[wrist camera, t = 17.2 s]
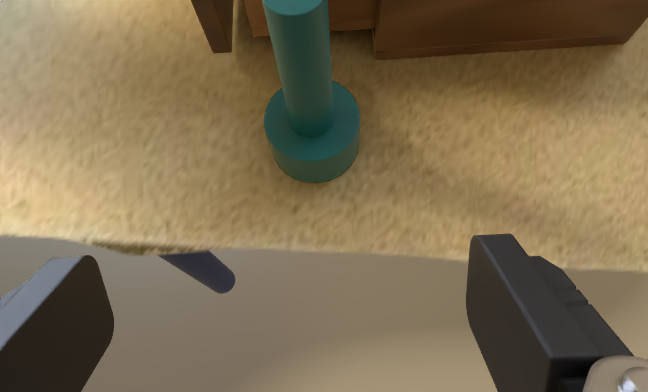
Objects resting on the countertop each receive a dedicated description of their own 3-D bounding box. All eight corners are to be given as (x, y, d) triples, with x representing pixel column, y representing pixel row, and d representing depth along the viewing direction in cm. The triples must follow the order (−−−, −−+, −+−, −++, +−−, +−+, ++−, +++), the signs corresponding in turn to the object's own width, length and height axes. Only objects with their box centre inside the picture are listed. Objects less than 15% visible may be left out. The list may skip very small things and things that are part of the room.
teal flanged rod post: (272, 185, 27) (219, 53, 16) (271, 108, 29) (224, -59, 18) (361, 180, 27) (371, 43, 16) (355, 102, 29) (360, -70, 18)
